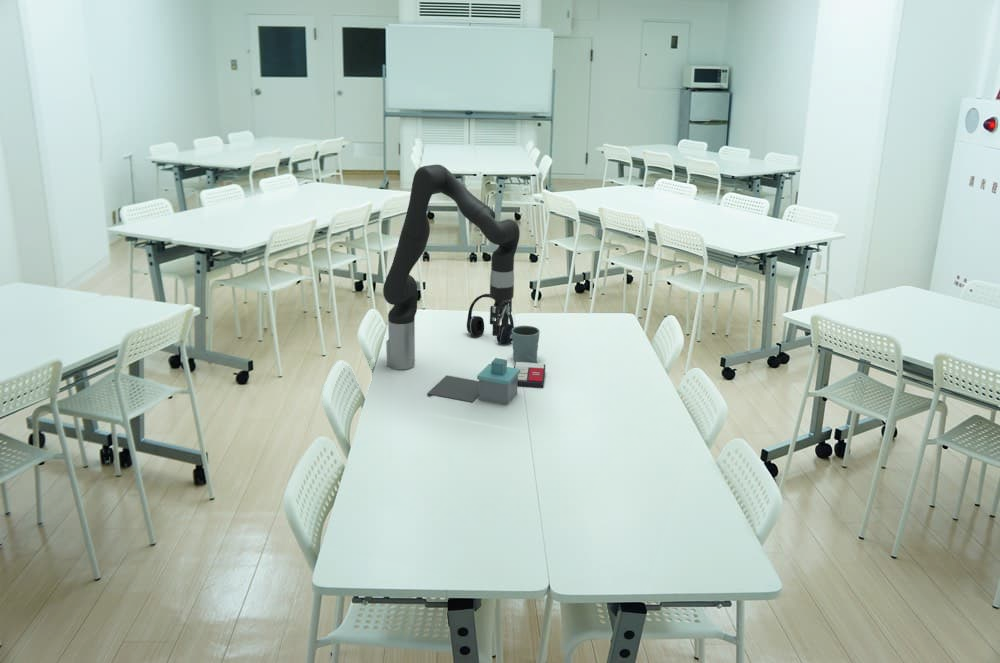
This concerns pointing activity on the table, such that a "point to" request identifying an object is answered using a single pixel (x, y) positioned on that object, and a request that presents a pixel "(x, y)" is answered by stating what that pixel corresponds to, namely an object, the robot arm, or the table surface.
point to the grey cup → (525, 343)
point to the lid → (498, 372)
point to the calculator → (530, 374)
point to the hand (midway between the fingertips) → (500, 331)
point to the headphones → (477, 325)
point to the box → (497, 391)
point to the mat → (456, 389)
